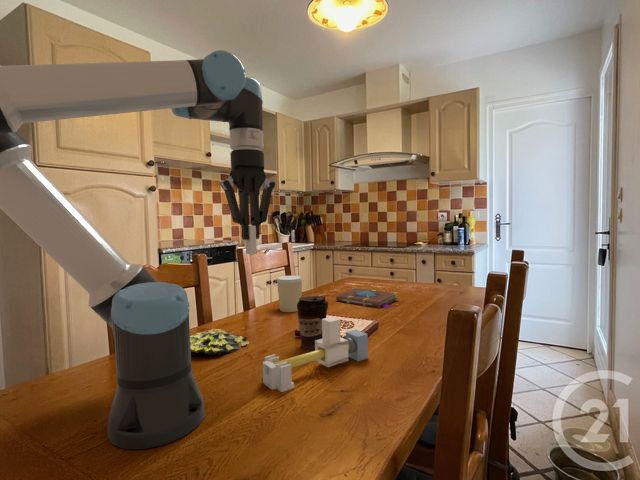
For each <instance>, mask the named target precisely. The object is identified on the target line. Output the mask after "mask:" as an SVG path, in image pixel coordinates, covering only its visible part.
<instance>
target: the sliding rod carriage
mask: <svg viewBox="0 0 640 480" xmlns="http://www.w3.org/2000/svg"><path fill="white" fill-rule="evenodd" d="M323 348H324V349H325V358H321V359H318V360H315V361H316V362H318V363H319V364H321V365H323V366H324V367H326V368H330V367H333V366H336V365H339V364H344V363H345V362H348V361H349V360H350V359H349V357H348V340H346V339H345V338H343V337H341V319H340V318H337V317H334V316H329V317H326V318H324V319H322V339H319V340H315V348H314V349H315V350H314V351H316V350H319V349H323ZM315 361H314V362H315Z"/></svg>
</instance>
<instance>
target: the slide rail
mask: <svg viewBox="0 0 640 480" xmlns="http://www.w3.org/2000/svg"><path fill="white" fill-rule="evenodd" d="M368 335H369V334H368V333H366V332H363V331H361V330H358V329H352V330H349V331H345V338H344V339H346V340H348V358H350V359H353V360H354V361H356V362H361V361H364V360H367V359H369V345H368V344H369V336H368ZM321 358H325V349H324V348H323V349H319V350H316V351H315V350H312V351H310V352H307V353H303V354H298V355H296V356H292V357H289V358H284V359H281V360H280V356H276V354H275V353H273V354H270V355H267V356H264V361H262V383H263V384H264V385H265V386H266V387H268V388H269V389H270V390H271V391H274V390H278V391H279V392H281V393H284V392H288V391H289V390H292V389H295V382H293V380H292V377H293V376H292V368H294V367H297V366H302V365H305V364H308V363H311V362H315V360H318V359H321Z"/></svg>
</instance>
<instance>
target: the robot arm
mask: <svg viewBox="0 0 640 480" xmlns="http://www.w3.org/2000/svg"><path fill="white" fill-rule="evenodd" d="M262 93H263V92H262V87H261V84H260V82H259V81H258V80H256V79H255V78H252V77H249V76H246V70H245V68H244V65H243V63H242V62H241V60H240V59H239V58H238V57H237V56H236V55H235V54H233V53H231V52H229V51H228V50H220V49H219V50H215V51H213V52H211V53H210V54H207V55H206V56H205V57H204V58H200V59H199V58H198V59H197V58H196V59H184V60H183V59H182V60H180V59H179V60H152V61H151V60H150V61H149V60H146V61H144V60H143V61H122V62H121V61H117V62H114V61H113V62H90V63H89V62H87V63H85V62H84V63H83V62H82V63H55V64H54V63H53V64H51V63H48V64H46V63H45V64H18V65H17V64H16V65H1V64H0V210H1V211H3V213H5V215H6V216H8V218H10V219H11V220H12V221H13V222H14V223H15V224H16V225H17V226H18V227H19V228H20V229H21V230H22V231H23V232H24V233H25V234H27V235H28V236H29V237H30V238H31V240H33V241H34V242H35V243H36V244H37V245H38V246H39V247H40V248H41V249H42V250H43V251H44V252H45V253H46V254H47V255H49V256H50V258H52V259H53V260H54V261H55V263H57V264H58V265H59V266H60V267H61V268H62V269H63V270H64V271H65V272H66V273H67V274H68V275H69V276H70V277H71V278H72V279H74V280H75V282H76V283H78V284H79V285H80V286H81V287H82V288H83V289H84V290H85V291H86V292H87V294H88V295H89V298H88V307H89V308H91V310H92V311H93V312H94V313H96V315H98V316H99V317H100V318H101V319H102V320H103V321H104V322H105V323H107V325H108V326H109V327H110V328H112V329H111V330H112V334H113V335H112V336H113V342H114V344H113V345H114V357H115V359H114V361H115V371H116V373H115V374H116V390H115V394H114V398H113V400H112V403H111V408H110V412H109V415H108V419H107V427H106V428H107V437H108V440H109V442H110V443H111V444H112V445H113V446H116V447H118V448H121V449H126V450H146V449H152V448H156V447H160V446H164V445H167V444H169V443H172V442H175V441H177V440H179V439H181V438H183V437H185V436H186V435H188V434H190V433H191V432H193V431H194V430H195V429H196V428H197V427H198V426H199V425H200V424H201V422H203V419H204V417H205V402H204V397H203V395H202V392H201V391H200V389H199V388H200V387H199V386H198V383H197V380H196V379H195V377H194V374H193V370H192V369H193V368H192V352H191V347H190V334H191V333H190V331H191V330H190V327H191V326H190V301H189V298H188V293H187V291H186V289H184V288H183V287H182V286H180V285H179V284H175V283H169V282H166V281H164V282H163V281H158V280H156V278H155V277H154V276H153V275H152V274H151V273H150V272H149V271H148V270H147V269H146V268H145V267H144V265H142V264H141V263H140V264H138V263H130V262H128V260H127V259H125V257H124V256H123V255H122V254H121V253H120V252H119V251H118V250H117V249H116V248H115V247H114V246H113V244H112V243H110V242H109V240H108V239H107V238H106V237H105V236H104V235H103V234H102V233H101V232H100V231H99V230H98V229H97V228H96V226H94V225H93V223H91V221H89V219H88V218H87V217H86V216H85V215H84V214H83V213H82V212H81V211H80V209H78V208H77V207H76V206H75V204H74V203H72V201H71V200H70V199H69V198H68V197H67V196H66V195H65V194H64V193H63V192H62V190H60V189H59V188H58V186H57V185H56V184H54V183H53V181H52V180H51V179H50V178H49V177H48V176H47V175H46V174H45V173H44V172H43V171H42V170H41V168H39V166H38V165H36V164H35V163H34V161H32V151H33V150H32V149H33V148H32V147H33V146H32V145H30V144H29V142H28V141H27V140H26V139H25V138H24V137H23V136H22V135H21V134H20V133H19V132H18V130H19V129H20V128H21V126H22V125H24V124H30V123H39V122H51V121H59V120H70V119H80V118H90V117H99V116H110V115H118V114H128V113H139V112H147V111H159V110H167V109H170V110H171V112H172V113H173V115H174V116H176V117H179V118H184V119H189V120H202V121H203V120H204V121H212V122H221V123H228V126H229V127H228V129H229V148H230V150H232V151H230V168H231V169H230V170H231V171H230V173H229V177H228V178H226V179H224V180H221V181H220V183H219V186H221V187H220V188H222V190H223V191H224V194H225V198H226V202H227V205H228V209H229V212H230V215H231V219H232V222H233V223H234V224H238V225H239V226H240V227H241V229H240V230H241V239H242V240H244V242H245V254H246V255H257V253H258V251H257V240H259V239H260V225H261V224H263V223H266V222H267V219H268V215H269V211H270V210H269V208H270V203H271V199H272V194H273V193H272V192H273V190H274V188H275V187H276V183H275V181H270V180H269V179H268V178H267V175H266V172H265V153H264V151H263V149H265V147H264V145H265V143H264V127H263V126H264V122H263V119H264V118H263V105H264V101H263V94H262ZM234 186H235V187H236V189H237V195H238V197H239V203H238V200H237V196H236V192H235V189H234V188H233V187H234ZM261 188H263V190H262V192H261V193H260V191H261V190H260V189H261ZM260 195H261V198H260Z"/></svg>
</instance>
